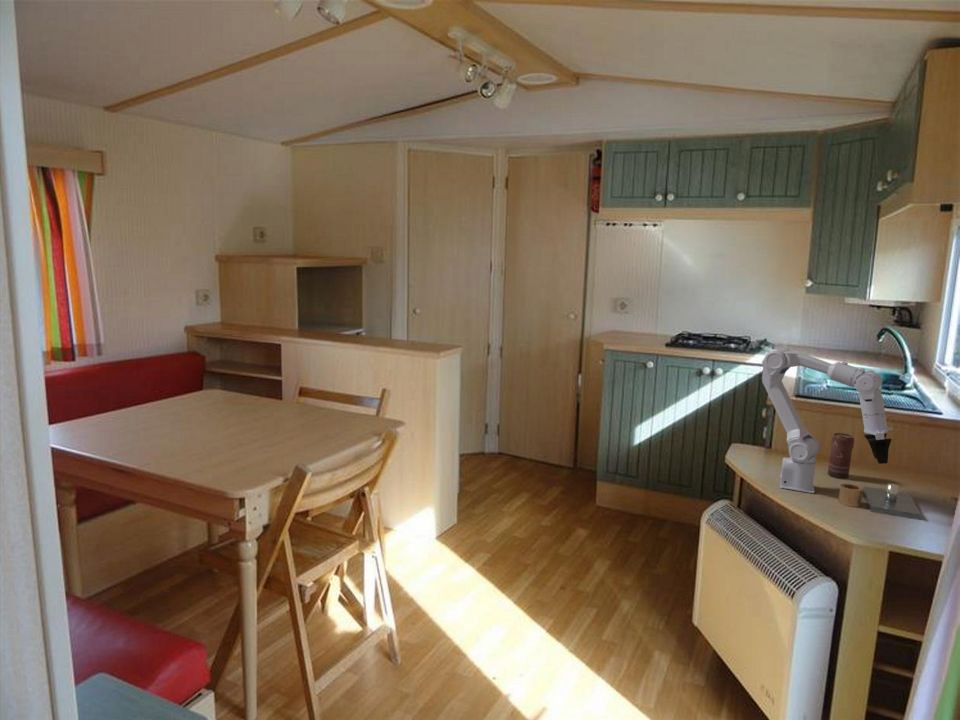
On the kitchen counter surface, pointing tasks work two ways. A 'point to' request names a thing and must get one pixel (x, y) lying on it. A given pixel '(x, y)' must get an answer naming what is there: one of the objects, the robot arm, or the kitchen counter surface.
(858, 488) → the tan cup
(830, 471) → the can
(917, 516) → the piston jig
